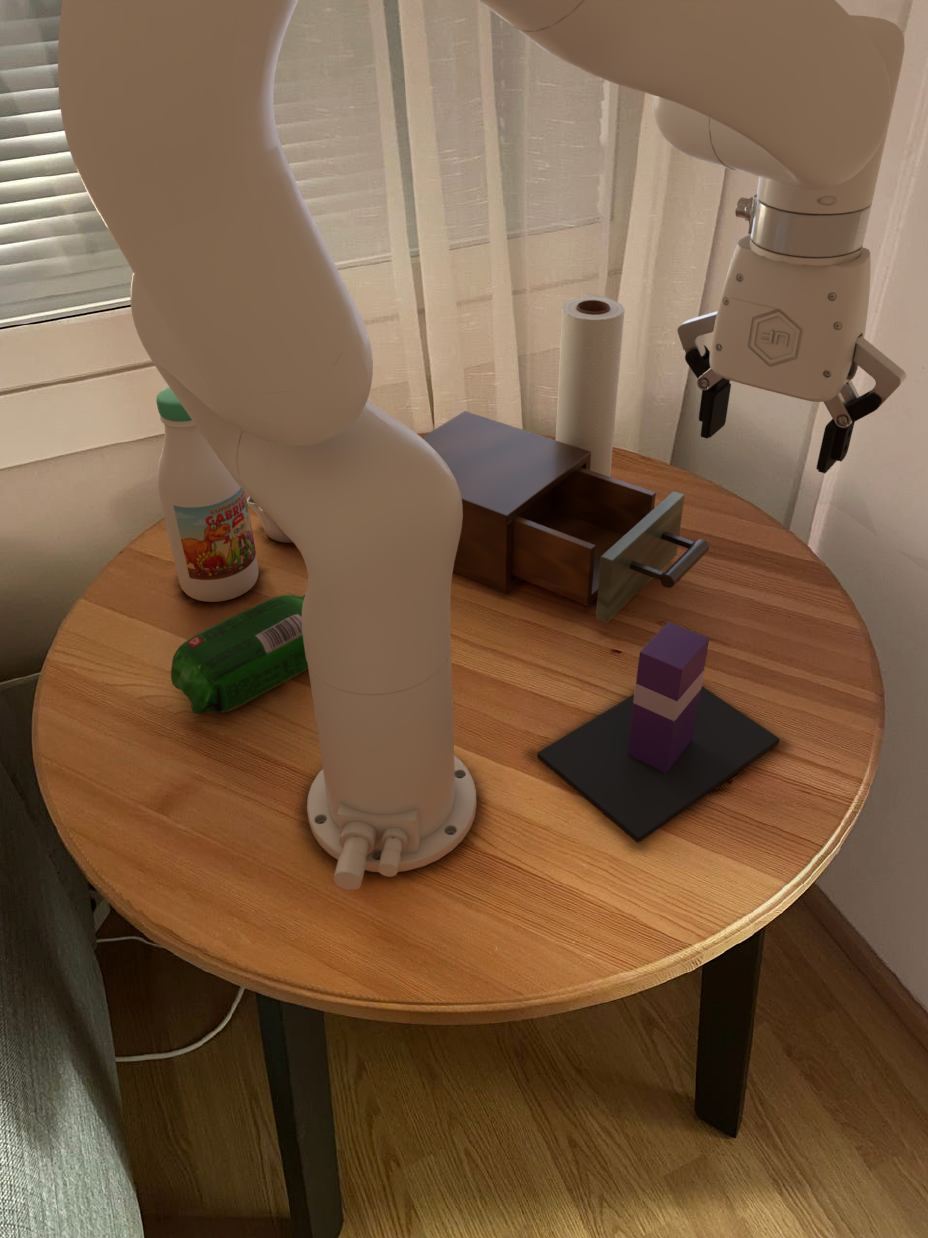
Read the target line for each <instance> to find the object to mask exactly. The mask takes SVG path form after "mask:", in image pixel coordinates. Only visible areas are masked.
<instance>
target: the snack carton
mask: <svg viewBox="0 0 928 1238" xmlns="http://www.w3.org/2000/svg"><path fill="white" fill-rule="evenodd" d="M709 644H710V637H708V636H706V635H703V634H700V633H698V632H695V631H693V630H691V629H688V628H685V627H683V626H680V625H678V624H675V623H673V622H671V621H667V622H666V623H665V624H664V625H663V627H661V629H660V630H659V631H658V632H657V633H656V634H655V635H654V636H653V637H652V638H651V639H650V641H648V643H646V644H645V646H644V647H643V648H642V649H641V650H640V651H639V654H638V655H639V656H638V663H637V664H638V665H637V670H636V671H637V672H636V678H635V684H634V693H633V695H634V700H633V712H632V720H631V728H630V736H629V745H628V753H627V755H629V756H631V757H633V758H635V759H637V760H639V761H641V762H643V763H646V764H648V765H650V766H652V767H654V768H656V769H658V770H660V771H662V772H664V773H666V772H667V771H668V770H669V769H670V767H671V766H672V765H673V764H674V762H675V761H676V760H677V759H678V757H679V756H680V755H681V754H682V752H683V751H684V750H685V748H686V747H687V746H688V745H689V743H690V742H691V741H692V737H693V731H694V725H695V719H696V714H697V708H698V702H699V697H700V691H701V688H702V686H703V680H704V675H705V668H706V667H705V666H706V662H707V655H708V650H709Z"/></svg>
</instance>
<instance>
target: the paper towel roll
mask: <svg viewBox="0 0 928 1238" xmlns="http://www.w3.org/2000/svg"><path fill="white" fill-rule="evenodd" d="M580 296H581V297H577V298H573V299H570V300H568V301H566V302H565V303H563V306H562V307H561V317H560V318H561V319H560V343H559V360H558V361H559V362H558V363H559V364H558V379H557V381H558V383H557V405H556V422H555V424H556V426H555V440H556V441H559V442H562V443H565V444H568V445H572V446H575V447H578V448H581V449H584V450H587V451H590V452H591V459H590V460H591V464H590V470H591V471H594V472H597V473H600V474H603V475H606V476H609V477H611V472H612V471H611V469H612V460H613V448H614V437H615V436H614V435H615V426H616V416H617V415H616V414H617V403H618V401H617V400H618V391H619V379H620V368H621V354H622V346H623V345H622V344H623V333H624V332H623V331H624V321H625V307H624V305H623V304H621V303H620V302H618V301H616V300H614V299H612V298H609V297H608V296H604V295H599V294H595V293H591V292H588V291H586V290H584V289H581V295H580Z"/></svg>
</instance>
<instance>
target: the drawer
mask: <svg viewBox="0 0 928 1238" xmlns="http://www.w3.org/2000/svg"><path fill="white" fill-rule="evenodd" d="M656 495H657V492H656V491H653V490H650V489H647V488H643V487H642V486H639V485H635V484H632V483H629V482H627V481H623V480H622V479H621V480H620V479H617V478H614V477H611V476H610V477H609V476H606V475H603V474H600V473H597V472H594V471H591V470H588V469H585V468H582V467H580V468H579V469H577V470H576V471H575V472H574V473H572V474H571V475H570V476H568V477H567V478H566V479H564V480H563V481H562V482H561V483H559V484H558V485H557V486H555V487H554V488H553V489H551V490H550V491H549V492H548V493H546V494H545V495H544V496H542V497H541V498H540V499H538V500H537V501H536V502H535V503H533V504H532V505H531V506H529V507H528V508H527V509H525V510H524V511H523V512H522V513H520V514H519V515H518V516H516V517H515V518H514V519H512V550H511V575H514V576H516V577H518V578H521V579H523V580H524V581H526V582H527V583H531V584H534V585H536V586H538V587H541V588H542V589H545V590H548V591H551V592H552V593H555V594H557V595H560V596H562V597H564V598H567V599H569V600H572V601H574V602H576V603H579V604H581V605H585V606H588V605H590V604H591V602H593V600H595V599H596V609H595V619H596V620H599V621H601V622H603V623H606V624H608V622H610V620H611V619H612V618H613V617H615V616H616V615H617V613H618V612H620V611H621V610H622V608H624V607H625V606H626V605H627V604H628V603H629V602H631V600H632V599H633V598H634V597H635V596H636V595H637V594H638V593H639V592H640V591H641V590H642V589H643V588H644V587H645V586H647V584H648V583H649V582H650V581H651V580H652V579H655V580H657V581H659V582H660V585H661V586H663V587H664V588H666V589H672V588H673V587H674V586H675V585H676V584H678V583H679V582H680V580H681V579H683V577H684V576H686V574H687V573H688V572H689V571H690V570H691V569H692V568H693V567H694V566H695V565H696V564H697V563H698V562H699V561H700V560H701V559H702V558H703V557H704V556H705V555H706V554H707V553H708V552H709V549H710V545H709V542H707V541H706V540H705V539H703V538H702V539H701V538H700V539H697V540H696V541H694V540H692V539H689V538H685V537H683V536H680V532H681V524H682V518H683V517H682V516H683V509H684V501H685V494H684V493H681V492H677V491H672V492H670V494H668V496H666V497H665V498H664V499H663V500H662V501H661V502H659V503H658V505H656V497H657V496H656ZM655 505H656V506H655ZM678 547H683V548H685V549H687V550H686V551H685V552H684V553H683V554H681V556H679V558H678V559H676V561H675V562H673V564H671V565H670V567H668V568H667V569H666V571H663V570H662V569H663V568H665V567H666V565H667V564H668V563H669V562H670V561H671V560H672V559H673V558H674V557H675V556H676V555H677V552H678ZM523 580H522V581H523Z"/></svg>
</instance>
